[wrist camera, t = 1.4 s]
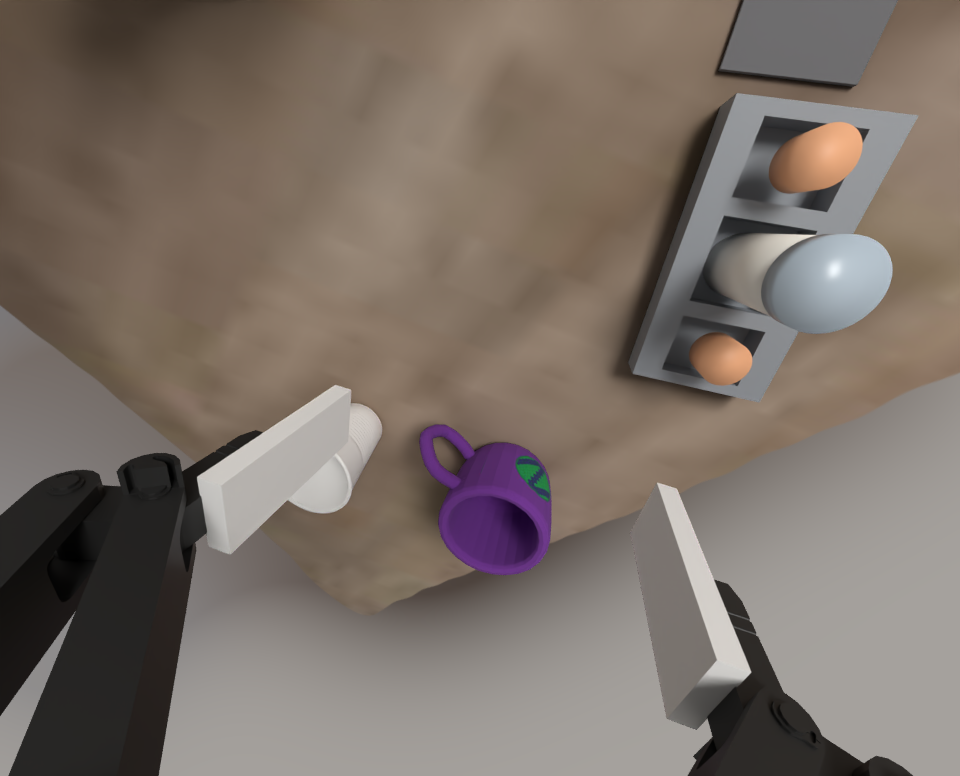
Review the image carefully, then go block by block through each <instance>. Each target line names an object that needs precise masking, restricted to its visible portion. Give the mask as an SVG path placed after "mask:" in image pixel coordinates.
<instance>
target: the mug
mask: <svg viewBox="0 0 960 776" xmlns="http://www.w3.org/2000/svg"><path fill="white" fill-rule="evenodd" d="M436 437H444V438H446V439H448V440H449V441H450V442H451V443H452V444H453V445H455V446H456V448H457V449H458V450H459V451H460V452H461V453H462V455H463V457H464V458H465V459H466V462H465V463H464V464H463V466H462V467H461V469H460V470H459V472H458V474H457V476H455V475H454V474H452V473H451V472H449V471H447V470H446V469H445V468H444V467H443V466H442V465H440V463H439V461H438V459H437V458H436V454H435V451H434V447H433V438H436ZM419 442H420V450H421V455H422V458H423V461H424V464H425V466H426V468H427V469H428V471H429V472H430V474H431V475H432V476H433V477H434V478H435V479H437V480H438V481H439V482H440V483H442V484H444V485H445V486H447V487H449V488H450V489H449V492H448V494H447V496H446V498H445V500H444V502H443V505H442V507H441V509H440V512H439V520H438V525H439V529H440V534H441V537H442V539H443V541H444V543H445V544H446V546H447V548H448V549H449V550H450V551H451V552H452V553H453V554H454V555H455V556H456V557H457V558H458V559H460V560H461V561H462V562H464V563H465V564H466V565H468V566H470V567H472V568H474V569H476V570H479V571H482V572H486V573H490V574H498V575H511V574H518V573H521V572H524V571H527V570H529V569H531V568H532V567H534V566H535V565H536V564H537V563H539V562H540V561H541V559H542V558H543V556H544V555H545V553H546V552H547V549H548V545H549V542H550V534H551V490H550V482H549V477H548V474H547V472H546V470H545V467H544V466H543V464H542V463H541V462H540V461H539V459H538V458H537V457H536V456H535V455H534V454H532V453H531V452H530V451H529V450H527V449H525V448H523V447H521V446H519V445H515V444H511V443H493V444H489V445H486V446H483V447H481V448H480V449H478V450H476V451H475V452H474V450H473V449H472V447H471V446H470V444H469V443H468V442H467V441H466V440H465V439H464V438H463V437H462V436H461V435H460V434H459V433H458V432H457V431H455V430H454V429H452V428H450V427H448V426H446V425H433V426H430V427H428V428H426V429H425V430H424V431H423V432H422V433H421V435H420V441H419Z"/></svg>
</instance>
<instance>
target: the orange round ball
mask: <svg viewBox="0 0 960 776" xmlns="http://www.w3.org/2000/svg"><path fill="white" fill-rule="evenodd" d="M689 359H690V362H691V364H692V365H693V366H694V368H695V369H696V370H697V371H698V372H699V373H700V374H701V376H702V377H703V378H704V379H705V380H706V381H708V382H709V383H711V384H714V385H720V386H724V385H730V384H733V383H736V382H738V381H740V380H741V379H742V378H744V377H745V376H746V375H747V373H748V372H749V370H750V368H751V366H752V355H751V353H750V351H749V350H748V349H747V348H746V347H745V346H744V345H742V344H741V343H739V342H738V341H736V340H735V339H733V338H732V337H730V336H729V335H727V334H725V333H721V332H712V333H708V334H705V335H703V336H701V337H699V338H698V339H697V340H696V341H695V342H694V343H693V344H692V346H691V348H690V351H689Z"/></svg>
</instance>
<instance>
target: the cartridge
mask: <svg viewBox="0 0 960 776" xmlns="http://www.w3.org/2000/svg"><path fill="white" fill-rule="evenodd" d="M703 275H704V279H705V281H706V283H707V285H708V286H709V287H710V288H711V289H712V290H713V291H715V292H717V293H719V294H721V295H723V296H726V297H728V298H730V299H732V300H735V301H737V302H739V303H741V304H744V305H746V306H748V307H750V308H752V309H755V310H757V311H759V312H761V313H764V314H766V315H768V316H770V317H772V318H773V319H774V320H776V321H778V322H779V323H781V324H784V325H786V326H788V327H790V328H792V329H795V330H797V331H800V332H804V333H811V334H821V333H829V332H834V331H837V330H841V329H843V328H846V327H848V326H850V325H852V324H854V323H856V322H858V321H859V320H861V319H862V318H864V317H865V316H866V315H868V314H869V313H870V312H871V311H872V310H873V309H874V308H875V307H876V306H877V305H878V304H879V303H880V301H881V300H882V298H883V297H884V295H885V294H886V292H887V290H888V288H889V285H890V282H891V278H892V262H891V259H890V256H889V254H888V252H887V251H886V249H885V248H884V247H883V246H882V245H881V244H880V243H879V242H877V241H875V240H874V239H871V238H869V237H866V236H862V235H855V234H821V235H796V234H765V233H739V234H734V235H731V236H729V237H727V238H725V239H723V240H721V241H720V242H719V243H718V244H716V245H715V246H714V247H713V248H712V250H711V251H710V252H709V254H708V257H707V259H706V262H705V264H704V267H703Z"/></svg>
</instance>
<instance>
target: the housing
mask: <svg viewBox="0 0 960 776" xmlns="http://www.w3.org/2000/svg"><path fill="white" fill-rule="evenodd" d="M917 117H918V115H910V114H902V113H894V112H886V111H878V110H870V109H861V108H853V107H845V106H837V105H829V104H821V103H813V102H804V101H796V100H788V99H780V98H772V97H764V96H756V95H748V94H739V93H736V94H735V95H734V96H733V97H731V98H730V99H729V100H728V101H726V102H725V103H724V104H723V105H721V107H720V109H719V112H718V115H717V118H716V120H715V123H714V126H713V129H712V132H711V134H710V137H709V140H708V143H707V145H706V148H705V151H704V154H703V156H702V159H701V162H700V165H699V168H698V170H697V173H696V176H695V179H694V181H693V184H692V187H691V190H690V192H689V195H688V198H687V201H686V204H685V206H684V209H683V212H682V215H681V217H680V220H679V223H678V226H677V229H676V231H675V234H674V237H673V240H672V242H671V245H670V248H669V251H668V253H667V256H666V259H665V262H664V265H663V267H662V270H661V273H660V276H659V278H658V281H657V284H656V287H655V290H654V292H653V295H652V298H651V301H650V303H649V306H648V309H647V312H646V314H645V317H644V320H643V323H642V326H641V328H640V331H639V334H638V337H637V339H636V342H635V345H634V348H633V351H632V353H631V356H630V359H629V362H628V364H629V366H630V369H631V371H632V373H633V374H636V375H641V376H645V377H650V378H654V379H658V380H663V381H667V382H672V383H676V384H680V385H685V386H689V387H694V388H698V389H702V390H707V391H711V392H716V393H720V394H724V395H729V396H733V397H738V398H742V399H746V400H751V401H755V402H760V400H761V399H762V397H763V395H764V393H765V391H766V390H767V388H768V386H769V384H770V382H771V381H772V379H773V377H774V375H775V373H776V372H777V370H778V368H779V366H780V364H781V363H782V361H783V359H784V357H785V355H786V353H787V352H788V350H789V348H790V346H791V344H792V343H793V341H794V339H795V337H796V335H797V334H798V332H799V331H797V330H795V329H792V328H790V327H788V326H786V325H784V324H781V323H779V322H778V321H776V320H774V319H773V318H772V317H770V316H768V315H766V314H764V313H761V312H759V311H757V310H755V309H752V308H750V307H748V306H746V305H744V304H741V303H739V302H737V301H735V300H732V299H730V298H728V297H726V296H723V295H721V294H719V293H717V292H715V291H713V290H712V289H711V288H710V287H709V286H708V285H707V283H706V281H705V279H704V275H703V267H704V264H705V262H706V259H707V257H708V254H709V252H710V251H711V250H712V248H713V247H714V246H715V245H716V244H718V243H719V242H720V241H721V240H723V239H725V238H727V237H729V236H731V235H734V234H739V233H765V234H796V235H821V234H853V233H854V231H855V229H856V227H857V225H858V224H859V222H860V220H861V218H862V216H863V215H864V213H865V211H866V209H867V207H868V206H869V204H870V202H871V200H872V198H873V197H874V195H875V193H876V191H877V189H878V188H879V186H880V184H881V182H882V180H883V179H884V177H885V175H886V173H887V171H888V170H889V168H890V166H891V164H892V162H893V161H894V159H895V157H896V155H897V153H898V152H899V150H900V148H901V146H902V144H903V143H904V141H905V139H906V137H907V135H908V134H909V132H910V130H911V128H912V126H913V125H914V123H915V121H916V119H917ZM833 122H845V123H848V124H851V125H853V126H854V127H855V128H856V129H857V130H858V131H859V132H860V134H861V137H862V142H863V146H862V153H861V156H860V158H859V161H858V163H857V164H856V166H855V167H854V169H853V170H852V171H851V172H850V173H849V174H848V175H847V176H846V177H845V178H844V179H843V180H841V181H840V182H838V183H837V184H835V185H833V186H831V187H828V188H825V189H820V190H814V191H807V192H800V193H794V194H787V193H782V192H780V191H778V190H776V189H775V188H774V187H773V186H772V184H771V182H770V179H769V166H770V163H771V160H772V158H773V156H774V155H775V153H776V152H777V151H778V149H779V148H780V147H781V146H782V145H783V144H784V143H786V142H787V141H788V140H790V139H792V138H794V137H796V136H798V135H801V134H803V133H805V132H808V131H810V130H813V129H815V128H818V127H820V126H823V125H826V124H829V123H833ZM712 332H721V333H725V334H727V335H729V336H730V337H732V338H733V339H735V340H736V341H738V342H739V343H741V344H742V345H744V346H745V347H746V348H747V349H748V350H749V351H750V353H751V355H752V366H751V368H750V370H749V372H748V373H747V375H746V376H745V377H744V378H742V379H741V380H740V381H738V382H736V383H733V384H730V385H724V386H720V385H714V384H711V383H709V382H708V381H706V380H705V379H704V378H703V377H702V376H701V374H700V373H699V372H698V371H697V370H696V369H695V368H694V366H693V365H692V364H691V362H690V359H689V351H690V348H691V346H692V344H693V343H694V342H695V341H696V340H697V339H698V338H699V337H701V336H703V335H705V334H708V333H712Z"/></svg>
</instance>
